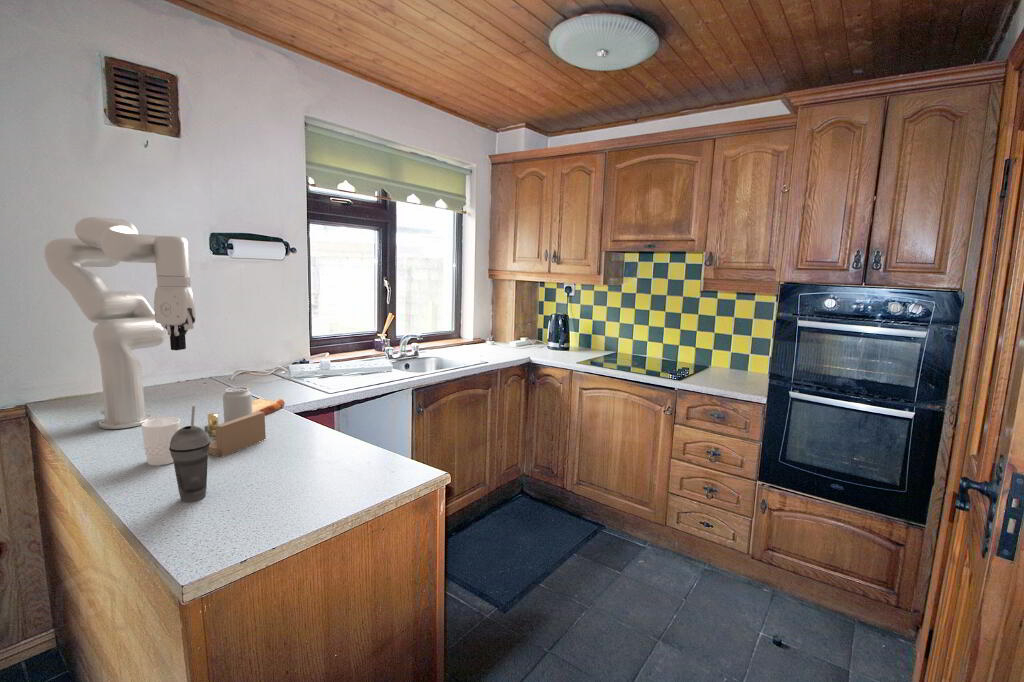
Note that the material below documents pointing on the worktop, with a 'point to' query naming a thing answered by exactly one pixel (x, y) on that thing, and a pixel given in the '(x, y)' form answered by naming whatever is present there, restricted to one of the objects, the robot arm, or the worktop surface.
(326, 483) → the worktop surface
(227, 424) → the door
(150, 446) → the white cup
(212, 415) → the bolt
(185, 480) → the beverage cup
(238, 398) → the can
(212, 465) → the worktop surface
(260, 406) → the slice of bread
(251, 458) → the worktop surface
